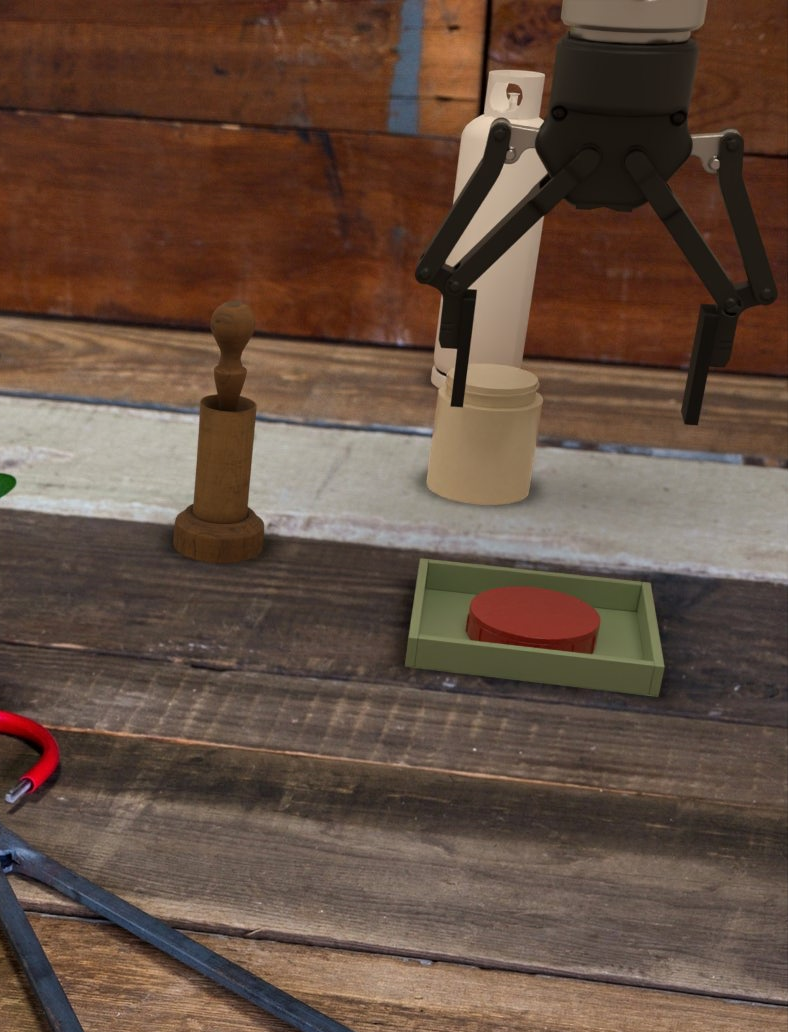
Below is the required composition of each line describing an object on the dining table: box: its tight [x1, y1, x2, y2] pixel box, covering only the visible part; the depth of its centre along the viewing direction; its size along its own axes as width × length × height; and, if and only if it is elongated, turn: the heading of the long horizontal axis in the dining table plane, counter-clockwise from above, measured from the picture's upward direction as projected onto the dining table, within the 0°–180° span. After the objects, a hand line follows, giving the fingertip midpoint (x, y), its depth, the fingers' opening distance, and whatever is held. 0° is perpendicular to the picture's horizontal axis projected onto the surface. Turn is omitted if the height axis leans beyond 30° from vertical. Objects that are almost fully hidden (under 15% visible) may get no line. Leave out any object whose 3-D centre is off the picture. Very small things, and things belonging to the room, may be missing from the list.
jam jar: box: [425, 364, 544, 506], centre depth 132 cm, size 8×8×10 cm
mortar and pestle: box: [172, 301, 265, 564], centre depth 118 cm, size 7×6×18 cm
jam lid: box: [465, 586, 601, 654], centre depth 108 cm, size 8×8×2 cm
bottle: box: [430, 69, 548, 389], centre depth 152 cm, size 8×8×28 cm
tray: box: [404, 557, 666, 698], centre depth 109 cm, size 15×13×2 cm
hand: (571, 410), depth 102 cm, fingers open, 13 cm apart
